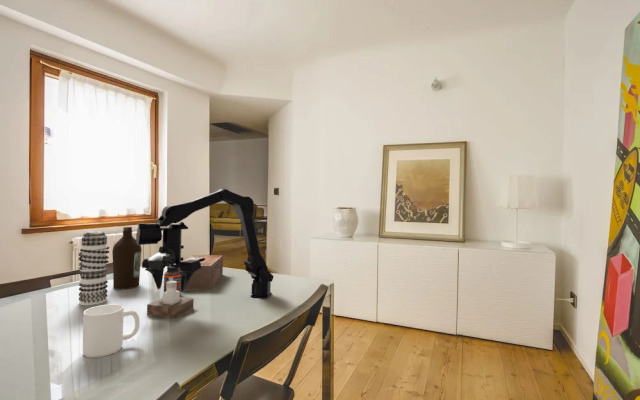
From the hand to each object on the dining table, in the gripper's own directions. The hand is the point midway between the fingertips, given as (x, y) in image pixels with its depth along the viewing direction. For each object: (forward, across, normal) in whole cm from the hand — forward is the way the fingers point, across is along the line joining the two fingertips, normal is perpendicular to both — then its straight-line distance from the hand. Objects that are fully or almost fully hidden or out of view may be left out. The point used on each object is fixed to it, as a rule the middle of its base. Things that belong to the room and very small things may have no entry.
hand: (170, 289), depth 110 cm
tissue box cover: (+8, -14, +38) cm, 41 cm away
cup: (+8, +4, -27) cm, 28 cm away
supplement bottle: (+8, -12, +16) cm, 21 cm away
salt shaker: (+7, 0, 0) cm, 7 cm away
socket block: (+8, 0, 0) cm, 8 cm away
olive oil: (+8, -38, +21) cm, 44 cm away
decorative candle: (+8, -33, +1) cm, 34 cm away
